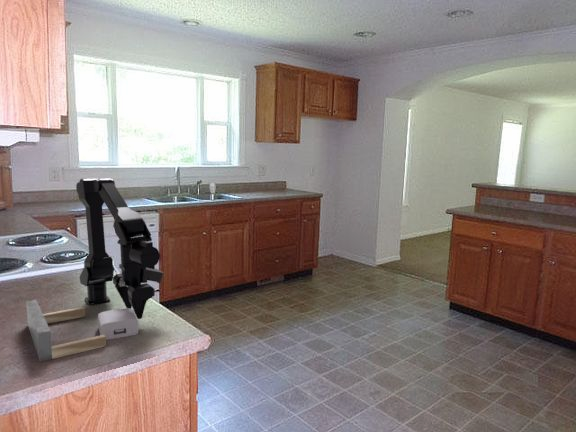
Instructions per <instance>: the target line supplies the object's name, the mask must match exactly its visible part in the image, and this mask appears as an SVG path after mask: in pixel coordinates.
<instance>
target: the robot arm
mask: <svg viewBox="0 0 576 432" xmlns="http://www.w3.org/2000/svg"><path fill="white" fill-rule="evenodd" d="M75 189H76V193H77V194H78V200H79V201H80V202H81V204H82V205H83V206H84V207H85V209H84V210H85V217H86V218H85V219H86V231H87V241H88V242H87V243H88V253H87V255H86V257H85V259H84V262H83V269H82V271H81V273H80V274H79V282H80V284H81V285H83V286H85V287H86V288H87V290H86V291H87V292H86V293H87V297H84V300H85V301H86V304H87V305H96V304H101V303H106V302H111V298H109V296H108V294H107V293H108V292H107V282H108V283H109V282H112V284H113V285H114V287H115V289H116V291H117V292H118V294H119V296H120V298H121V300H122V302H123V304H124V306H125V309H126V308H131V309H133V311H134V313H135V316H136V318H137V320H141V319H143V315H144V312H145V308H146V305H147V302H148V300H150V299H153V297H155V295H156V294H155V292H156V289H155V288H154V287H153V286H152V285H150V284H148V281H150V282H154V283H156V284H157V283H158V284H162V279H163V275H164V271H162V270H160V269H158V268H155V266H156V265H157V264H158V263H159V261H160V258H161V253H160V251H159V249H158V248H157V247H155V246H153V244H154V243H153V241H152V240H153V239H152V234H151V232H150V230H149V228H148V227H147V223H146V221H145V220H144V219H143V217H142V216H141V215H140V214H139V212H138V211H135V210H132V209H131V208H130V207H129V206H128V204H127V203H126V200H125V198H123V196H122V195H121V193H120V192H119V190H118V188H117V187H116V183H115V180H114V179H113V178H110V177H105V178H104V177H103V178H101V177H98V178H97V177H96V178H89V177H88V178H80V180H79V181H78V182H77V183H76V186H75ZM104 204H105V205H106V208H107V210H108V211H109V212H110V214H111V215H112V218H113V220H114V221H113V226H112V227H113V228H114V232H115V235H116V236H117V238H118V240H117V244H118V245H119V246H120V263H119V266H118V267H119V269H120V270H121V272H120V273H116V274H115V275H114V273H115V267H114V262H113V261H114V259H113V257H112V256H110V255H109V254H108V253H107V251H106V240H105V239H106V238H105V227H104V216H103V215H104V214H103V205H104Z"/></svg>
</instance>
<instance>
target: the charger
mask: <svg viewBox="0 0 576 432" xmlns="http://www.w3.org/2000/svg"><path fill="white" fill-rule="evenodd" d="M97 326H98V331H99V336H100V335H105V336H106V341H107V340H112V339H118V338H124V337H129V336H135V335H137V334H138V333H139V319H137V317H136V315H135V312H134V310H133V308H132V307H131V308H126V307H125V308H116V309H109V310H106V311H105V310H104V311H102V312H100V313H98V314H97Z"/></svg>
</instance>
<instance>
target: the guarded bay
mask: <svg viewBox="0 0 576 432" xmlns="http://www.w3.org/2000/svg"><path fill="white" fill-rule="evenodd" d="M25 303H26V304H25V306H26V307H25V308H26V317H27V318H26V319H27V328H28V330H29V333H30V336H31V339H32V342H33V346H34V347H35V352H36V354H37V357H38V360H39V362H40V363H41V362H45V361H49V360H54V359H58V358H62V357H67V356H70V355H75V354H79V353H84V352H89V351H91V350H96V349H100V348H103V347H105V348H106V347H107V340H106V336H105V335H100V334H99V335H96V336H93V337H92V336H91V337H88V338H82V339H79V340H75V341H74V340H73V341H70V342H66V343H65V342H64V343H61V344H55V345H52V337H51V329H50V327H49V325H48V324H53V323H58V322H62V321H63V322H64V321H67V320H68V321H69V320H74V319H78V318H85V317H86V315H87V314H86V307H85V306H79V307H76V308H75V307H74V308H69V309H64V310H58V311H54V312H48V313H43V311H42V309H41V307H40V304H39V302H38V300H37V299H33V300H27V301H25Z"/></svg>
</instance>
